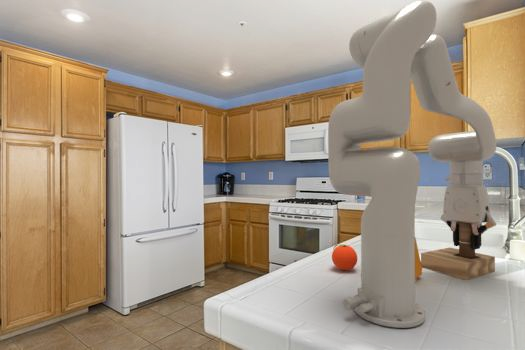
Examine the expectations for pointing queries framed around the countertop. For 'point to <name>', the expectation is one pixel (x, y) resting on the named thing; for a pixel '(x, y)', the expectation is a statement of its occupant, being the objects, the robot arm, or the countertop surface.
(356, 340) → the countertop surface
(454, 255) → the board
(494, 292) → the countertop surface
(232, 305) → the countertop surface
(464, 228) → the peg
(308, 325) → the countertop surface
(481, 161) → the robot arm
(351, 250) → the clementine
